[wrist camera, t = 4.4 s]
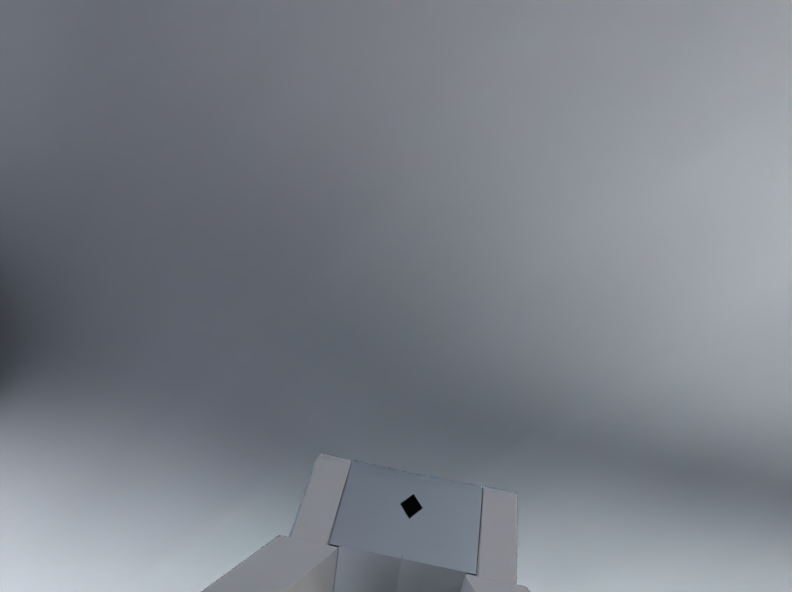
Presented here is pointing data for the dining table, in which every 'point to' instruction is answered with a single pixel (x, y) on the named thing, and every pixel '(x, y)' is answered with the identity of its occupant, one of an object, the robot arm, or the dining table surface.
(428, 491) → the robot arm
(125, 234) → the dining table surface
